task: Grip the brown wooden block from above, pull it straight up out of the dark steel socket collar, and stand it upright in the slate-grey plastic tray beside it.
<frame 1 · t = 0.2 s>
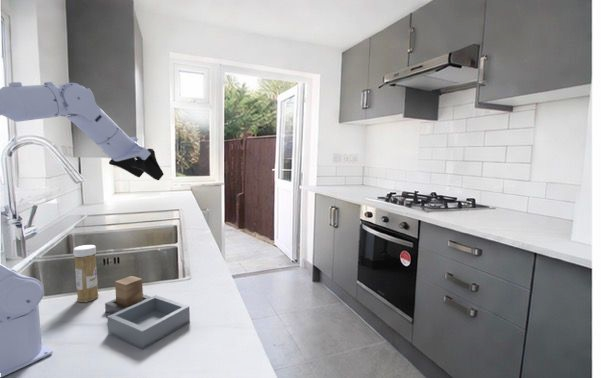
hand: (150, 175, 75), 31 cm above the counter, tool tilted 45°, fingers open, 7 cm apart
brown wooden block: (129, 294, 72), in the socket collar
socket collar: (130, 308, 72), on the counter
sprinkles bottle: (87, 299, 77), on the counter
tray: (150, 327, 64), on the counter
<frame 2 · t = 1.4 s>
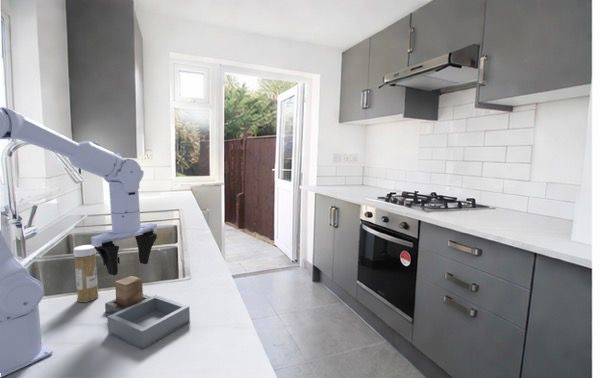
hand: (129, 268, 71), 10 cm above the counter, tool pointing down, fingers open, 7 cm apart
nothing on the counter moved.
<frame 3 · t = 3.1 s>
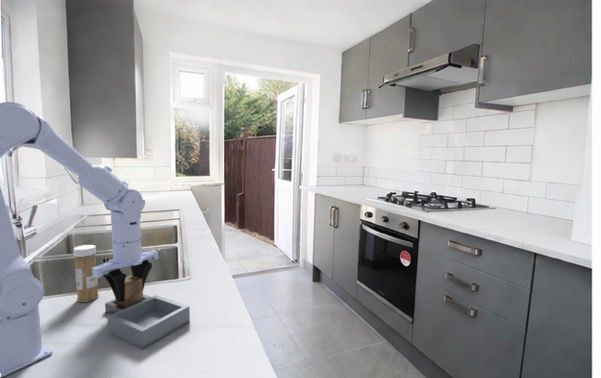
hand: (129, 296, 72), 3 cm above the counter, tool pointing down, fingers closed on brown wooden block, 4 cm apart
brown wooden block: (129, 294, 72), in the socket collar, touching gripper
everything else where it was.
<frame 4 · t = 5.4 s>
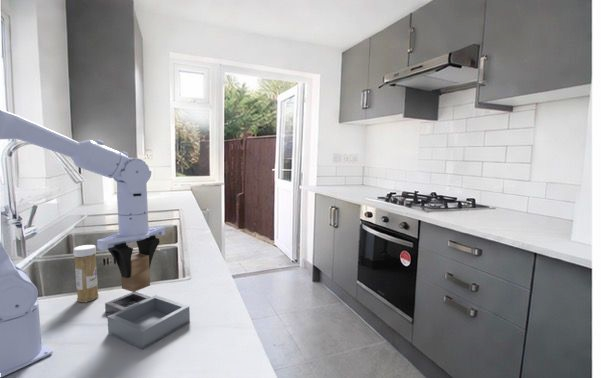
hand: (135, 273, 68), 10 cm above the counter, tool pointing down, fingers closed on brown wooden block, 4 cm apart
brown wooden block: (135, 271, 68), point 10 cm above the counter, touching gripper
everything else where it was.
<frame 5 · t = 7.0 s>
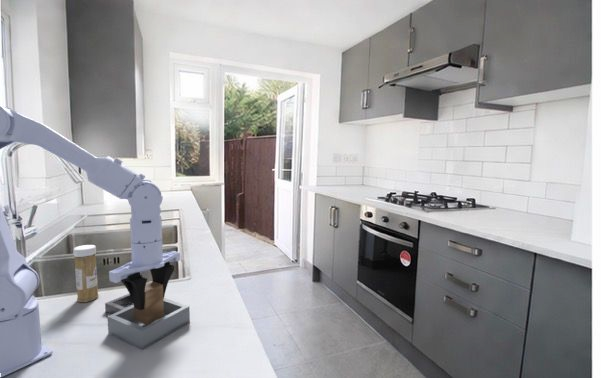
hand: (149, 303, 64), 5 cm above the counter, tool pointing down, fingers closed on brown wooden block, 4 cm apart
brown wooden block: (148, 302, 64), point 6 cm above the counter, touching gripper
everything else where it was.
when the fingers open (4 cm above the counter, at t = 8.0 s): brown wooden block stays where it is, resting on tray.
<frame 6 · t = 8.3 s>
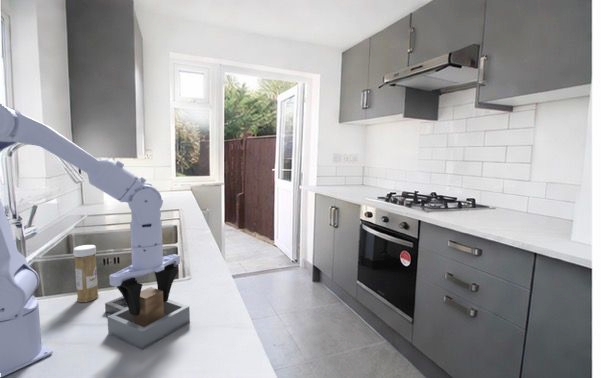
hand: (149, 307, 64), 5 cm above the counter, tool pointing down, fingers open, 6 cm apart
brown wooden block: (148, 308, 64), in the tray, point 4 cm above the counter
everything else where it was.
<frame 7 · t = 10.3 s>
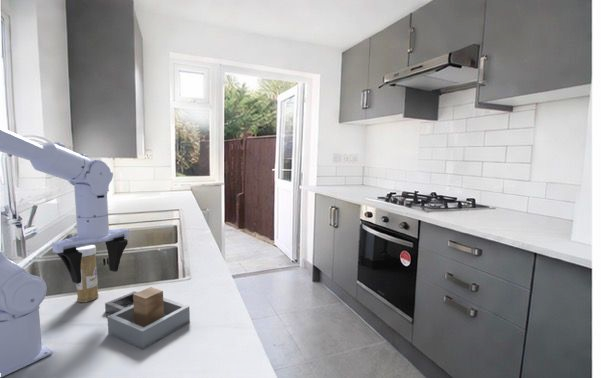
hand: (96, 276, 67), 9 cm above the counter, tool pointing down, fingers open, 7 cm apart
nothing on the counter moved.
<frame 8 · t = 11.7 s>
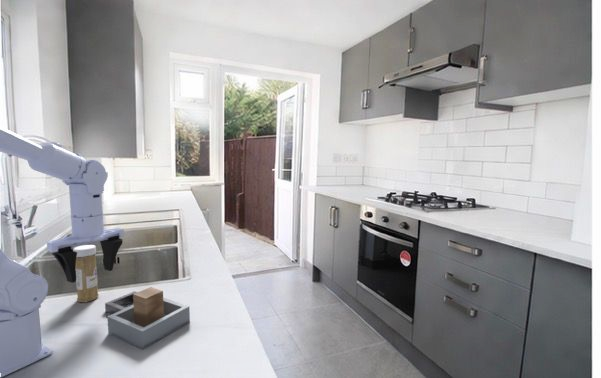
hand: (91, 275, 68), 9 cm above the counter, tool pointing down, fingers open, 7 cm apart
nothing on the counter moved.
at the end: brown wooden block 0.3 cm off-centre on the tray, point 4.1 cm above the tray's base; brown wooden block tilted 0°; the gripper is holding nothing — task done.
